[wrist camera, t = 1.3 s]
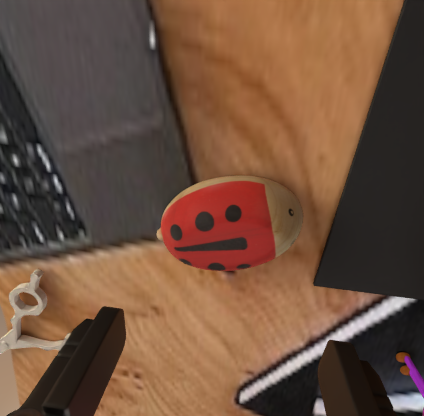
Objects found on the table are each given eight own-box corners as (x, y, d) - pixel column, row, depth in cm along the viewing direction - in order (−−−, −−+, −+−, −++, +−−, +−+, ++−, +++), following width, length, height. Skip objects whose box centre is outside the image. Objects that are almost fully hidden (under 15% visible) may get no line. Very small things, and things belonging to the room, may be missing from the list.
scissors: (113, 350, 26) (-13, 391, 32) (116, 343, 27) (-8, 385, 33) (34, 272, 23) (-92, 335, 29) (40, 266, 23) (-84, 329, 29)
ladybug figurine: (305, 245, 20) (317, 278, 16) (178, 264, 22) (166, 297, 19) (293, 156, 17) (304, 177, 14) (148, 188, 19) (128, 212, 16)
